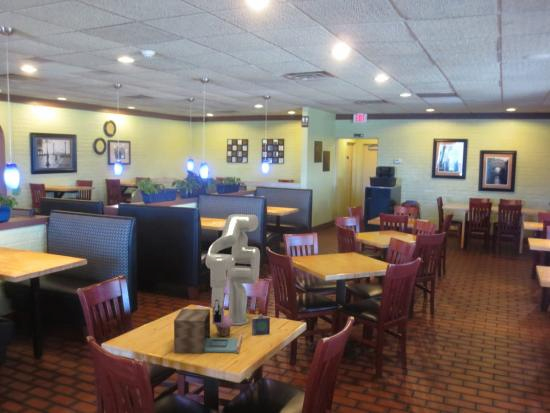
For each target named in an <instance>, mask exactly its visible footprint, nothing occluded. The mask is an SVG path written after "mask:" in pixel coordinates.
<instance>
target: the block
mask: <svg viewBox="0 0 550 413" xmlns="http://www.w3.org/2000/svg"><path fill="white" fill-rule="evenodd" d="M218 308H220V307H218ZM214 310H215V306H214V308H212V325H215V324H220V325H223V323H224V316H225V306H222V308H221V311H220V314H221V322H220V323H215V322H214ZM218 310H219V309H218Z"/></svg>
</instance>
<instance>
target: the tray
mask: <svg viewBox="0 0 550 413" xmlns="http://www.w3.org/2000/svg"><path fill="white" fill-rule="evenodd" d="M242 340H243V333H241V332H239V335H238V337H236V338H235V337H230V338H229V337H210V338H206V339H205V340H204V342H205V353H236V354H239V353H240V350H241V345H242V342H243V341H242Z"/></svg>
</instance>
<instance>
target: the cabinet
mask: <svg viewBox="0 0 550 413" xmlns="http://www.w3.org/2000/svg"><path fill="white" fill-rule="evenodd" d="M173 335H174V336H173V342H174V344H173V345H174V347H173V349H174V351H173V352H174V353H175V354H205V353H206V352H205V342H204V341H205V339H206V338H211V308H181V310H180V311H179V312H178V313H177V315H176V317H175V318H174V319H173Z"/></svg>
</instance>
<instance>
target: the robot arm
mask: <svg viewBox="0 0 550 413" xmlns="http://www.w3.org/2000/svg"><path fill="white" fill-rule="evenodd" d="M258 226H259V218H258V215H256V214H241V213H235V214H230V215H228V217H227V218H226V220H225V222H224V227H223V231H222V234H221V236H220V237H218V238H217V239H216V240H215V241H214V242H212V243H211V245H210V246H209V247H208V249H207V250H208V251H207V253H206V257H205V265H206V267H207V269H210V275H209V276H210V288H212V289H211V305H210V307H211V308H210V309H213V308H214V307H215V310H214V322H215V323H220V322H221V314H220V311H221V308H222V307H224V303H225V302H224V301H225V287H227V282H228V316H229V317H230V318H231V319H232V322H233V324H232V325H231V326H243V325H246V324H249V322H250V320H249V318H248V317H247V290H246V287H245V286H244V284H247V285H255V284H257V283H258V282H259V277H260V265H261V263H260V262H261V252H260V249H259V248H258V247H256V246H248V241H249V239H248V238H249V237H248V235H247V232H248V233H249V232H250V233H251V232H253V231H255V230H257V228H258ZM230 247H231V254H228V253H227V254H226V253H219V251H222V250H224V249H229V248H230ZM236 264H246V265H248V266H245V265H236ZM249 265H250V266H249ZM218 307H220V308H218ZM218 309H219V310H218Z"/></svg>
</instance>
